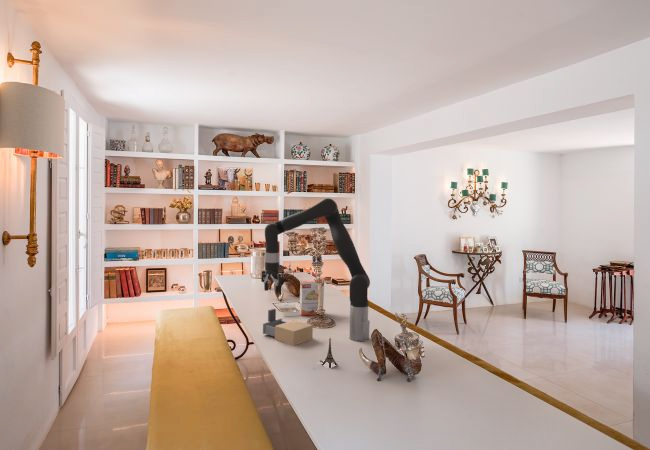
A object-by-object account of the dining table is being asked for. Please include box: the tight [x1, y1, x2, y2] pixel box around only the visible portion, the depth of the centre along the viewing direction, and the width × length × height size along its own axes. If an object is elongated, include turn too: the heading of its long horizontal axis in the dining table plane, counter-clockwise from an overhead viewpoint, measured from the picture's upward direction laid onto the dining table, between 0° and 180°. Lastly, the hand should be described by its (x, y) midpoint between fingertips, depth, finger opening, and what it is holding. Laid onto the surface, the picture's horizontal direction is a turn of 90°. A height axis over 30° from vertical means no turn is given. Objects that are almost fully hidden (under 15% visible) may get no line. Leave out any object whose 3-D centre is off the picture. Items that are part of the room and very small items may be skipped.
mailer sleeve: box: [274, 319, 314, 346], centre depth 215 cm, size 13×14×7 cm
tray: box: [262, 308, 288, 338], centre depth 221 cm, size 14×13×11 cm
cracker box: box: [299, 279, 325, 317], centre depth 262 cm, size 14×6×21 cm, turn 105°
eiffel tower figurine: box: [320, 337, 338, 369], centre depth 183 cm, size 15×10×13 cm
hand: (272, 291), depth 224 cm, fingers open, 8 cm apart
